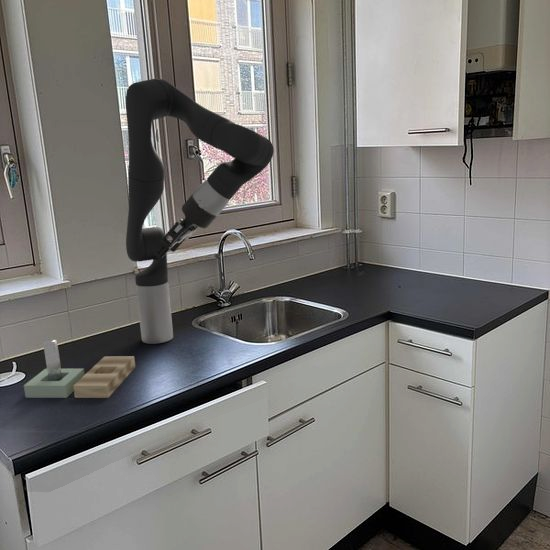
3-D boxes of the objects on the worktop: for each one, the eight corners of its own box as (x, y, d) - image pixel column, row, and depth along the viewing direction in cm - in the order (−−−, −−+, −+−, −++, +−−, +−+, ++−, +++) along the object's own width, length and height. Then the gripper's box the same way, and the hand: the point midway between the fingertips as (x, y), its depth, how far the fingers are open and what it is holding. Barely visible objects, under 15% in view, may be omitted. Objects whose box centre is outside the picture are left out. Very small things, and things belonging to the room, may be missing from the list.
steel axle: (53, 385, 136) (47, 338, 133) (65, 385, 135) (59, 338, 133) (47, 391, 133) (40, 343, 130) (59, 391, 132) (52, 343, 130)
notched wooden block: (105, 367, 146) (104, 356, 145) (135, 367, 145) (134, 356, 144) (74, 397, 128) (73, 385, 128) (108, 397, 127) (106, 385, 127)
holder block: (47, 379, 139) (45, 368, 139) (85, 379, 138) (83, 368, 138) (25, 397, 130) (23, 385, 129) (66, 397, 129) (64, 385, 128)
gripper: (204, 189, 135) (163, 237, 140) (183, 194, 121) (139, 247, 126) (226, 210, 135) (185, 257, 140) (209, 218, 121) (164, 270, 126)
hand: (163, 252), depth 133 cm, fingers open, 8 cm apart
